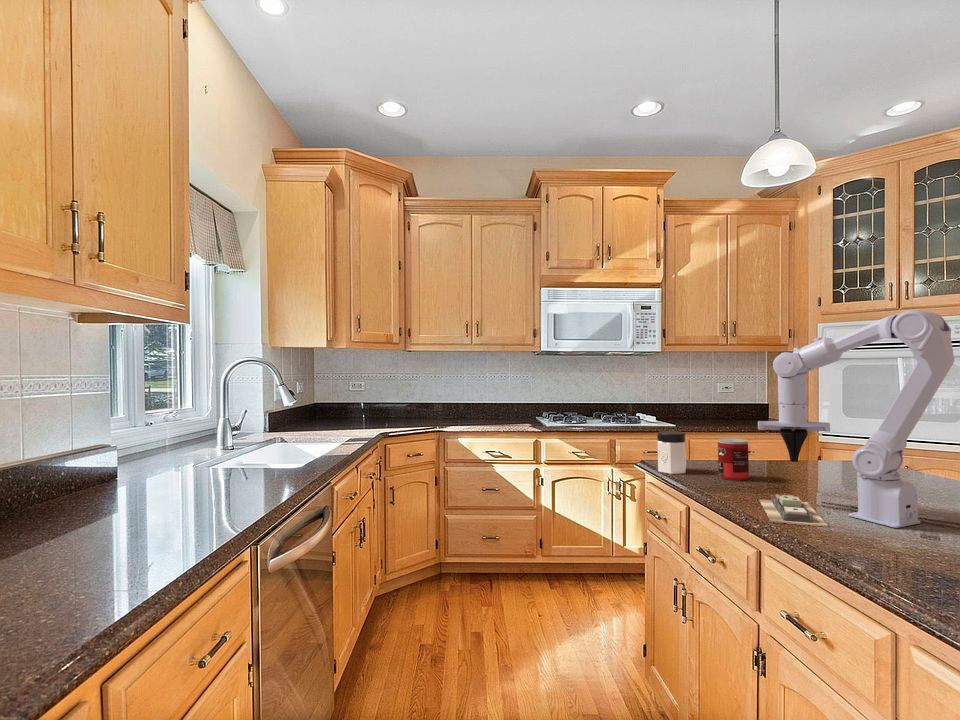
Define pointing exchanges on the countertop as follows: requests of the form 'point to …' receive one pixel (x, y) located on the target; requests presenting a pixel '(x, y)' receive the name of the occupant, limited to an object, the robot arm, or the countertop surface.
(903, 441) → the robot arm
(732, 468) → the canned food
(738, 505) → the countertop surface
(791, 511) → the key one
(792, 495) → the key three
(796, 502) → the key two
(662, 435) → the jar
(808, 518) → the key board
